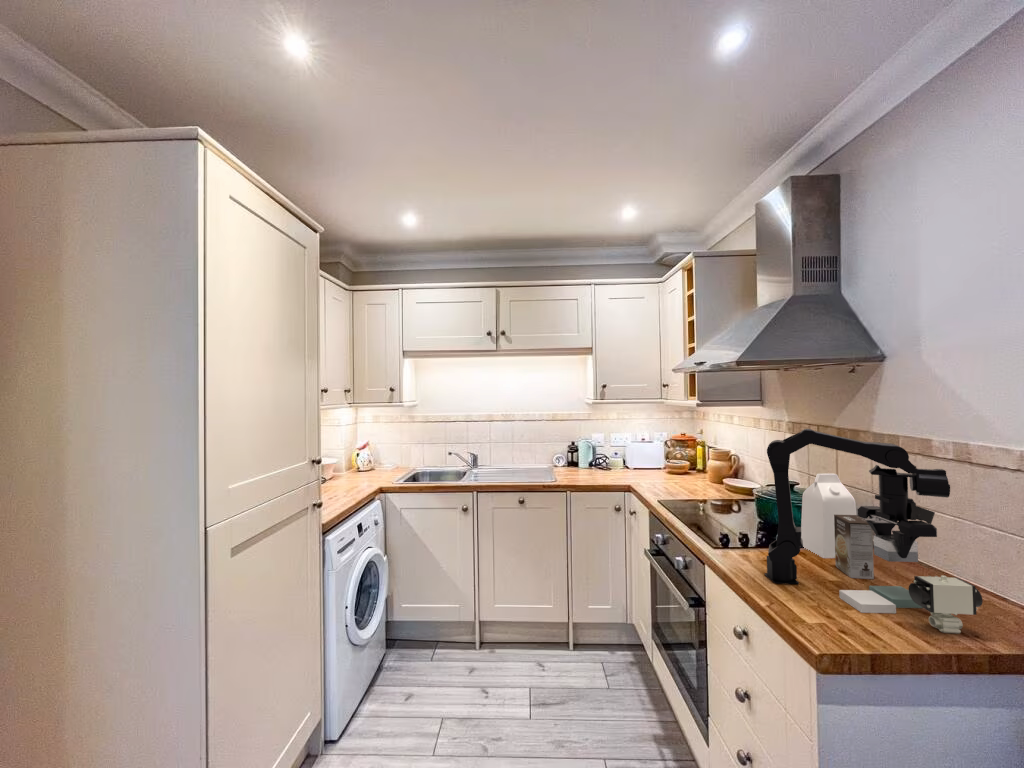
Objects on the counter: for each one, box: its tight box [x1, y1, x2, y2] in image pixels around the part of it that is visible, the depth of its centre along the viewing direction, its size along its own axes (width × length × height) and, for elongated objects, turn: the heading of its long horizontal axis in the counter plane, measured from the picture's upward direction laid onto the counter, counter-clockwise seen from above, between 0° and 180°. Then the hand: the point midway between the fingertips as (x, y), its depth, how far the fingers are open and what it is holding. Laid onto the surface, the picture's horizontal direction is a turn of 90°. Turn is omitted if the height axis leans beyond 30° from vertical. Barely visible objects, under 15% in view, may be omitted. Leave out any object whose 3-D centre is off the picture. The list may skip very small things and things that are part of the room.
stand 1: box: [838, 589, 897, 614], centre depth 112 cm, size 8×8×2 cm
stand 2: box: [868, 585, 924, 609], centre depth 115 cm, size 8×8×2 cm
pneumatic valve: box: [908, 575, 984, 635], centre depth 101 cm, size 6×12×12 cm, turn 82°
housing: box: [873, 533, 919, 563], centre depth 115 cm, size 5×7×6 cm
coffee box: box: [834, 514, 875, 580], centre depth 133 cm, size 9×6×16 cm
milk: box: [800, 473, 858, 559], centre depth 150 cm, size 12×12×26 cm
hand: (895, 554), depth 115 cm, fingers closed on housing, 5 cm apart
